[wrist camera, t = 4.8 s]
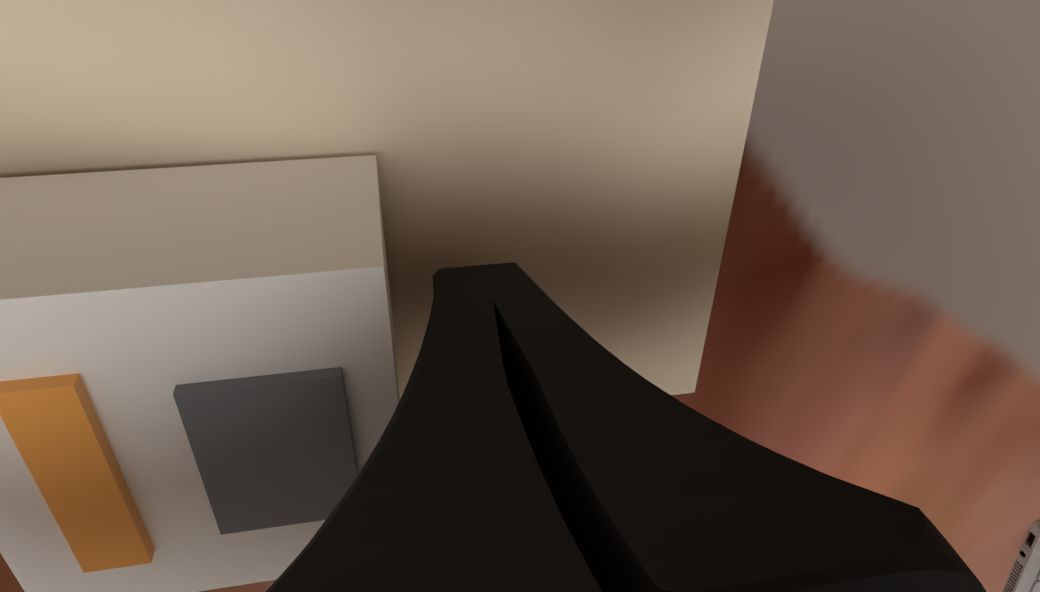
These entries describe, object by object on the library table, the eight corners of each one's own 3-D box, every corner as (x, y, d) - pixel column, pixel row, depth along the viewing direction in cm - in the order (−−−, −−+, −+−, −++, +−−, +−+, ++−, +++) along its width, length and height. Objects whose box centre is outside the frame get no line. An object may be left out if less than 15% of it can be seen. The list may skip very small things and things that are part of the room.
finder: (403, 415, 13) (416, 570, 10) (102, 452, 12) (34, 630, 9) (376, 154, 10) (383, 276, 8) (-19, 178, 9) (-162, 325, 7)
